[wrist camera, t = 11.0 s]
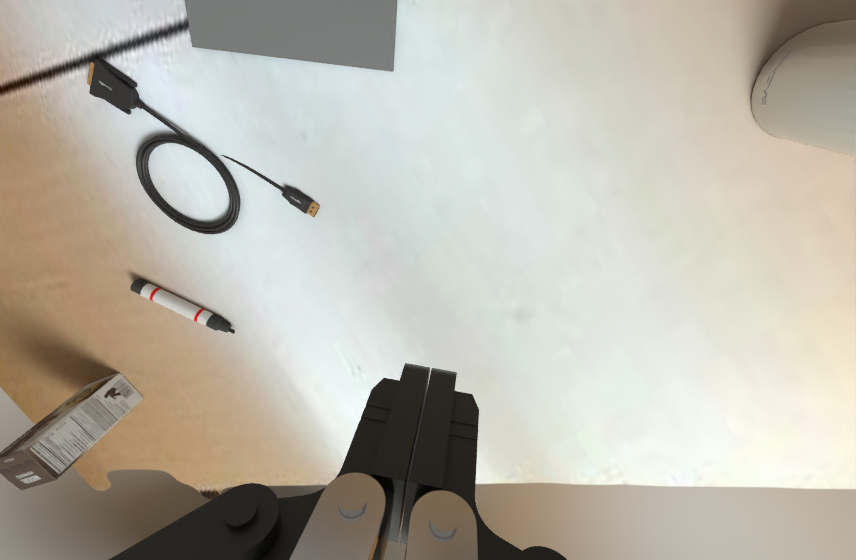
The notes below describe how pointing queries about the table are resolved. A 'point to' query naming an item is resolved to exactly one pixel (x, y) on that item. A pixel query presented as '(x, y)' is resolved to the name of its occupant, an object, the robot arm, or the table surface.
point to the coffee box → (68, 432)
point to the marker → (180, 306)
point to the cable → (125, 97)
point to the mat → (299, 29)
